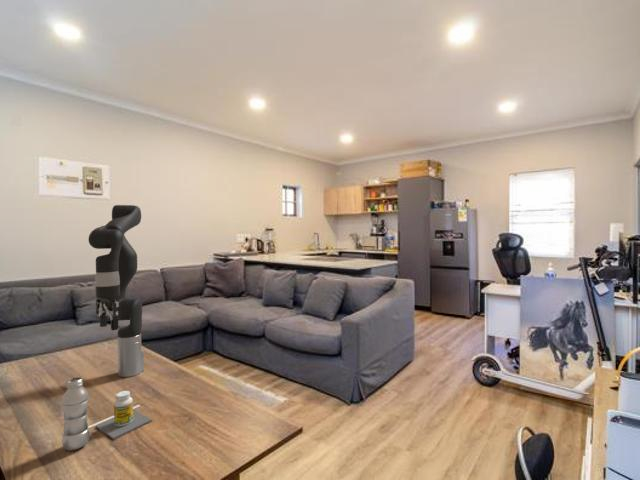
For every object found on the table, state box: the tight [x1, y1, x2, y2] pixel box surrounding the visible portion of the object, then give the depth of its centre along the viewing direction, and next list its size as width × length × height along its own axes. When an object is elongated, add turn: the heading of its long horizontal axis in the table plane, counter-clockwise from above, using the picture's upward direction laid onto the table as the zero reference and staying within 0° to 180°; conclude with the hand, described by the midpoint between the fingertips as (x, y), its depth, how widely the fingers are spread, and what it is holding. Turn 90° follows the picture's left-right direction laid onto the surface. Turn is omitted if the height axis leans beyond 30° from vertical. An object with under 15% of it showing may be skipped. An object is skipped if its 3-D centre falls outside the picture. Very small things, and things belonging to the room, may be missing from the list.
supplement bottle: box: [113, 390, 134, 426], centre depth 111 cm, size 5×5×10 cm
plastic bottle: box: [61, 376, 91, 451], centre depth 99 cm, size 6×7×20 cm
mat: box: [95, 409, 153, 441], centre depth 111 cm, size 12×12×1 cm
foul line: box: [88, 404, 141, 430], centre depth 114 cm, size 20×1×1 cm, turn 146°
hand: (108, 328), depth 124 cm, fingers open, 8 cm apart
